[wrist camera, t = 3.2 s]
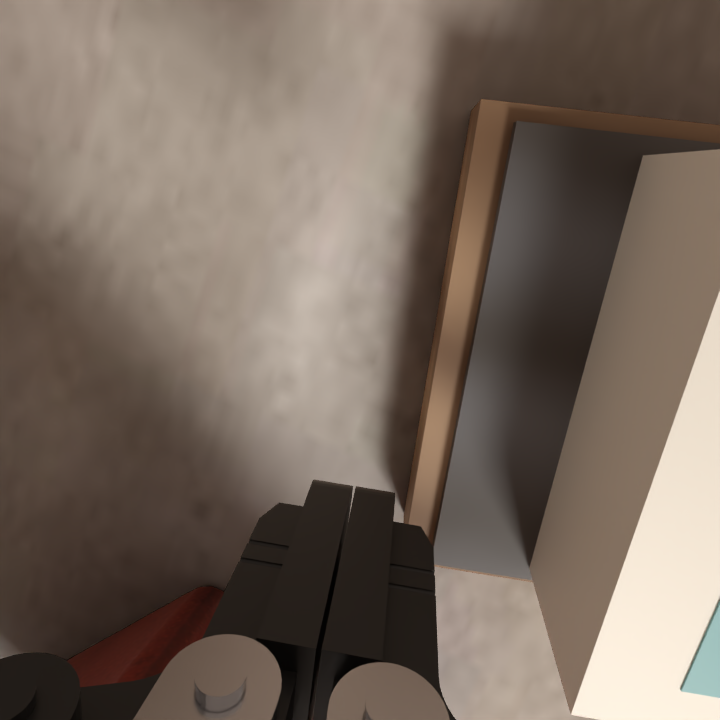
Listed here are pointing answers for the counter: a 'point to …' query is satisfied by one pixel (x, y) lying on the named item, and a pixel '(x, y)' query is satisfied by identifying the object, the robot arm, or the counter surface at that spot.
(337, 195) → the counter surface
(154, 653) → the plant pot
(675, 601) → the carton
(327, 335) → the counter surface
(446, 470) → the wooden serving tray
